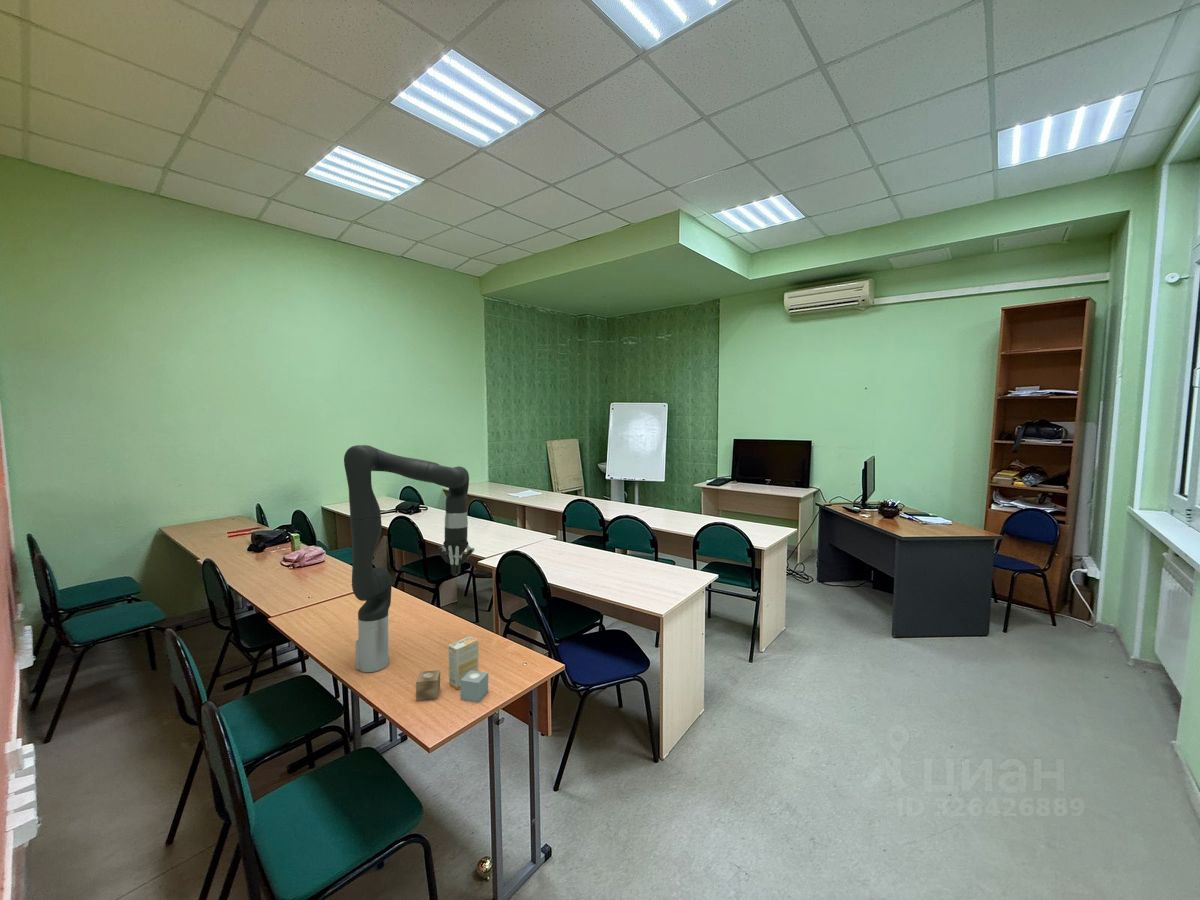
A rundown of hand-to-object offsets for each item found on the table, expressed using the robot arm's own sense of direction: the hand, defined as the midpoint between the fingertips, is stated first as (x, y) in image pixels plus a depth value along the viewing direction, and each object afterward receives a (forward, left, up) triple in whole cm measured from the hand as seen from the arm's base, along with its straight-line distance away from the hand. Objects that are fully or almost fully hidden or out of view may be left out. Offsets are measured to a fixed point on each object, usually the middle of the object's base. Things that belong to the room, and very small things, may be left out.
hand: (455, 574), depth 161 cm
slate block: (+13, -19, -31) cm, 39 cm away
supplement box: (+7, -12, -31) cm, 34 cm away
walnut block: (-1, -20, -31) cm, 37 cm away
